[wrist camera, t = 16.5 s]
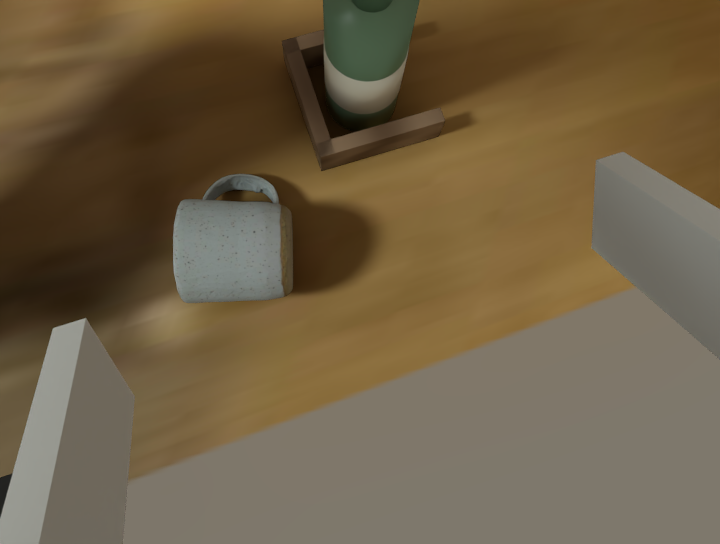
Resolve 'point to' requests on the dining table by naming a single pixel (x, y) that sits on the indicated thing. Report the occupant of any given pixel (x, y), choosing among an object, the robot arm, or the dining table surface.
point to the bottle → (365, 58)
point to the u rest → (357, 144)
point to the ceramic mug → (233, 245)
